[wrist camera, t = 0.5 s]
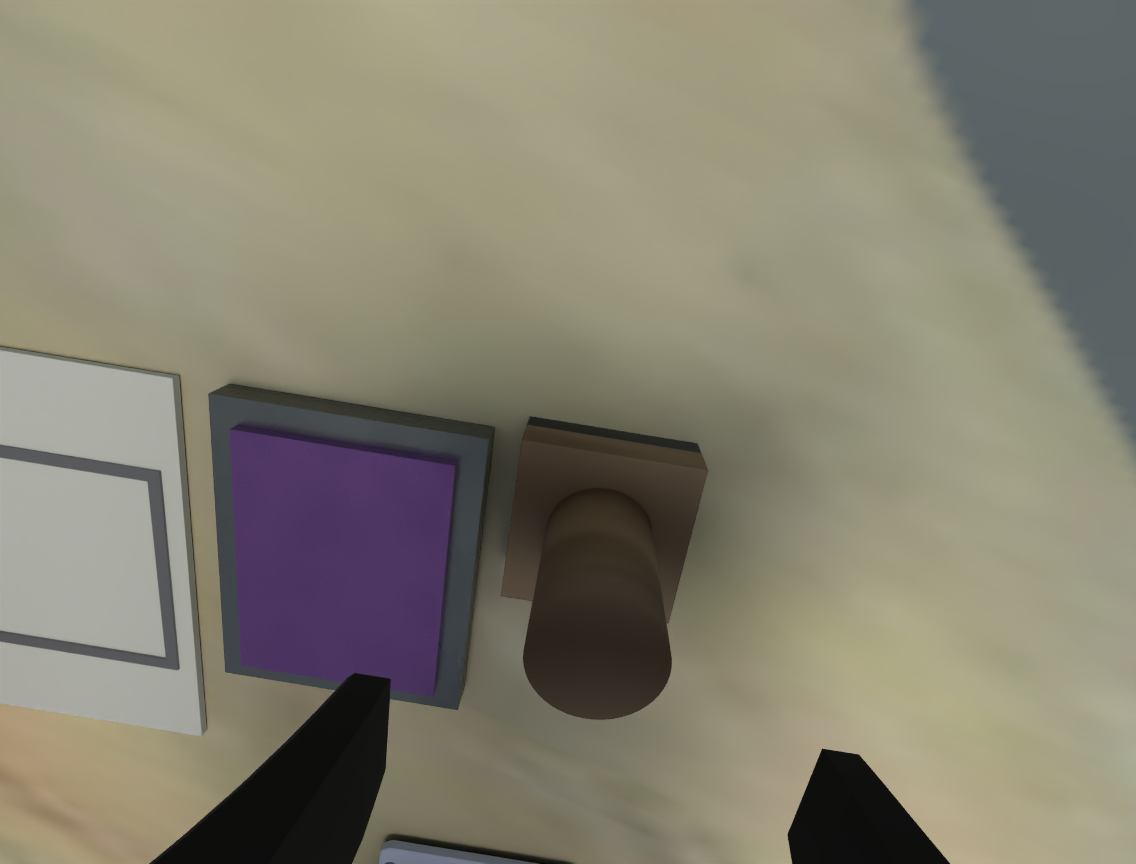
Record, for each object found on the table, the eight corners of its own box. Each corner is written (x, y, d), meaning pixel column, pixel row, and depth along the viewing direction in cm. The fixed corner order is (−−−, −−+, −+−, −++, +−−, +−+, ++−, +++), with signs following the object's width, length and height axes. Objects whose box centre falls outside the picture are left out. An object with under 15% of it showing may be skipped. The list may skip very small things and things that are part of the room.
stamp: (662, 583, 20) (691, 771, 13) (510, 559, 20) (463, 735, 13) (697, 442, 18) (750, 578, 11) (530, 415, 18) (488, 535, 11)
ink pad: (464, 687, 21) (455, 719, 20) (242, 651, 21) (218, 680, 20) (495, 427, 18) (486, 444, 17) (229, 383, 18) (199, 397, 17)
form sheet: (206, 729, 23) (200, 738, 22) (-29, 691, 23) (-39, 699, 22) (179, 375, 18) (170, 379, 18) (-121, 326, 18) (-136, 329, 18)
